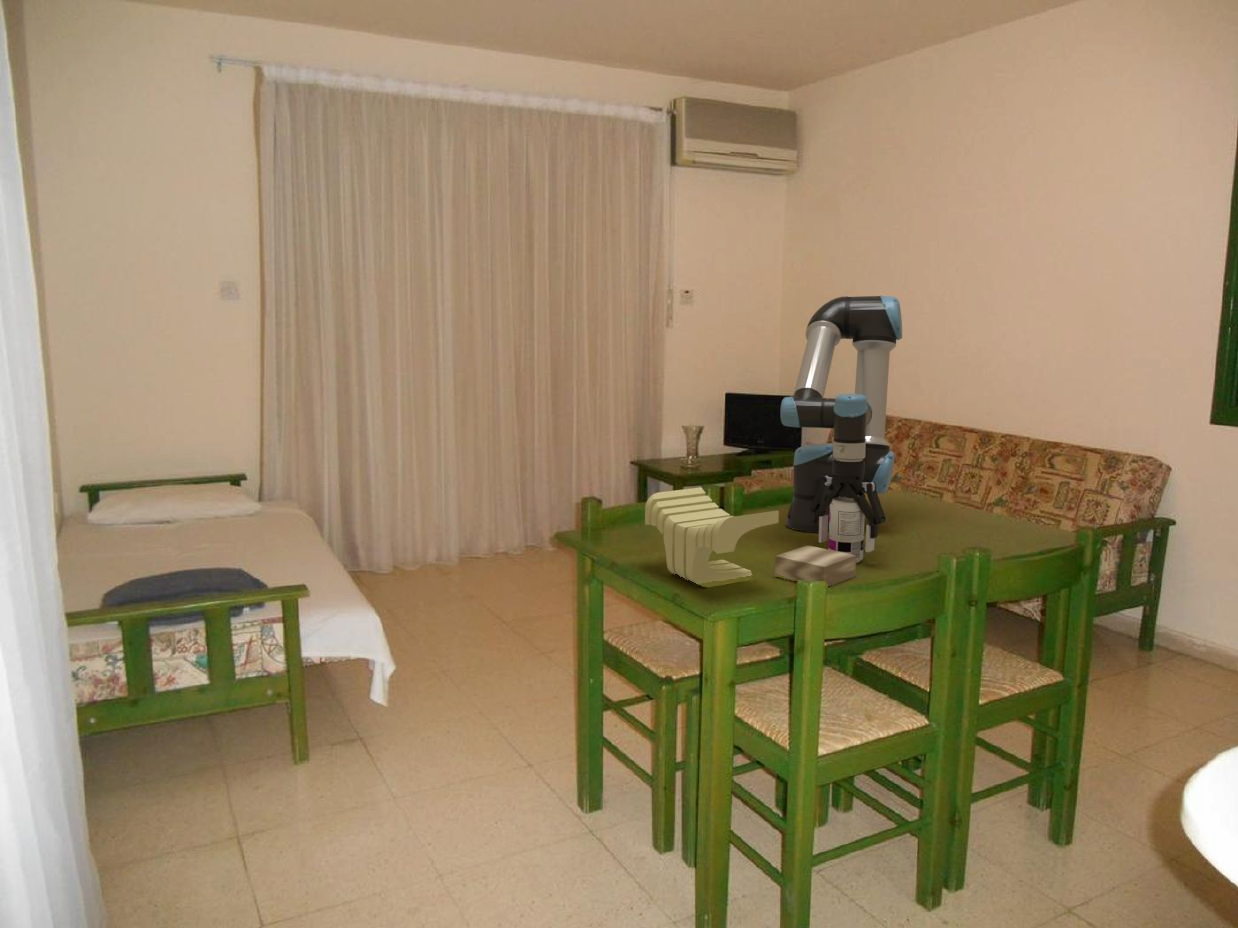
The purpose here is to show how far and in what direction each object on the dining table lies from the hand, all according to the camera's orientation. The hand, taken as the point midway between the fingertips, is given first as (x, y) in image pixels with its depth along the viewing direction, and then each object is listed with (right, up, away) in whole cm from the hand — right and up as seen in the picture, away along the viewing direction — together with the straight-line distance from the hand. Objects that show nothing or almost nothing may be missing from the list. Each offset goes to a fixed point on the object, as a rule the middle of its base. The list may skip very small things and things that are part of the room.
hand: (845, 546), depth 224 cm
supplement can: (0, -4, +1) cm, 4 cm away
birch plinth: (-10, -6, -13) cm, 18 cm away
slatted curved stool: (-35, -6, -13) cm, 38 cm away
